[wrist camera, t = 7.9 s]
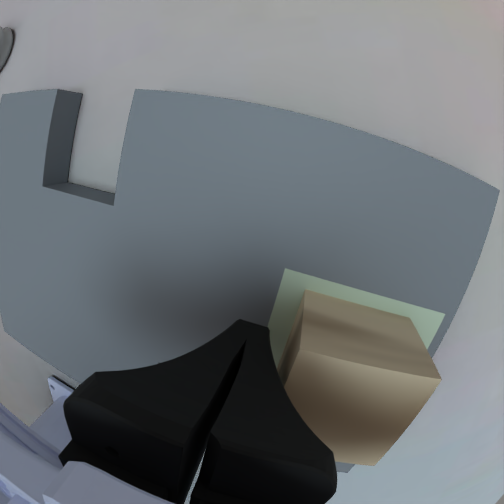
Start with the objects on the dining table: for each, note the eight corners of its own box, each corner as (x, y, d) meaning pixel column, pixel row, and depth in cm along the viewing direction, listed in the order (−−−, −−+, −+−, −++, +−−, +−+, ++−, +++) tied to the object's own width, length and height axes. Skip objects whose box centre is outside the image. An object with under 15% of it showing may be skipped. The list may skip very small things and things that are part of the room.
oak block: (365, 398, 12) (374, 465, 8) (273, 377, 13) (257, 445, 9) (409, 317, 11) (441, 379, 7) (305, 289, 11) (299, 348, 7)
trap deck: (346, 449, 16) (347, 473, 14) (20, 320, 19) (4, 331, 17) (476, 185, 11) (499, 190, 9) (24, 96, 13) (2, 94, 12)
